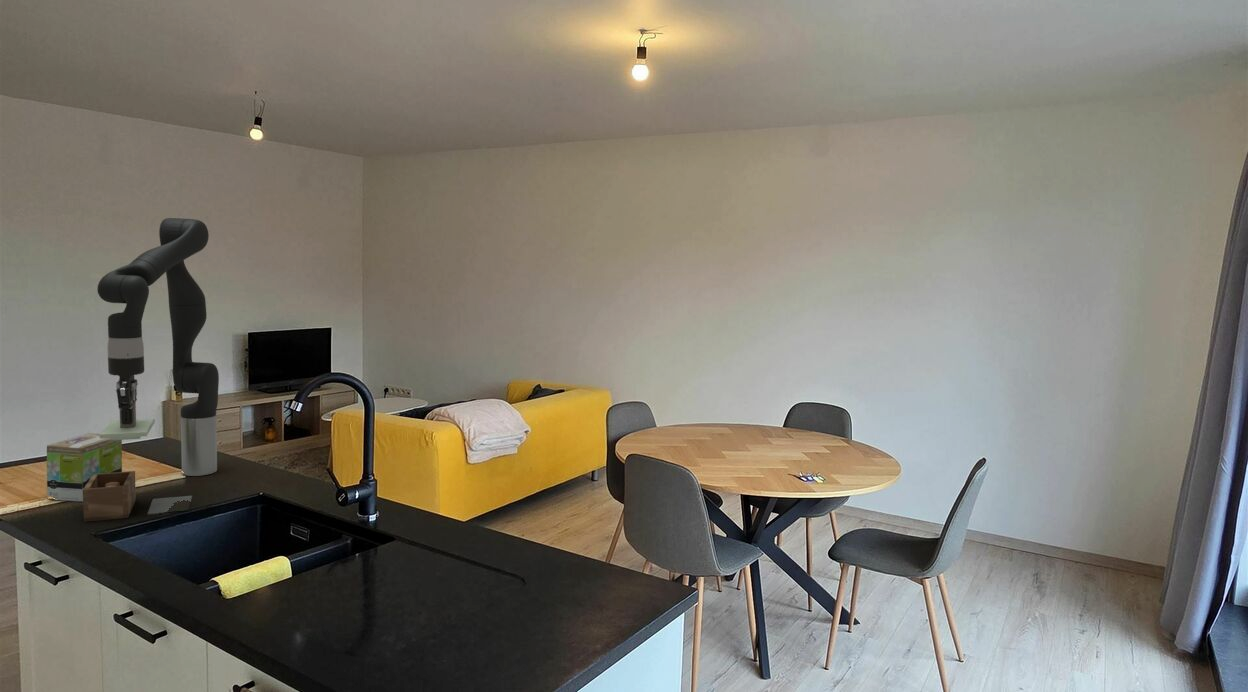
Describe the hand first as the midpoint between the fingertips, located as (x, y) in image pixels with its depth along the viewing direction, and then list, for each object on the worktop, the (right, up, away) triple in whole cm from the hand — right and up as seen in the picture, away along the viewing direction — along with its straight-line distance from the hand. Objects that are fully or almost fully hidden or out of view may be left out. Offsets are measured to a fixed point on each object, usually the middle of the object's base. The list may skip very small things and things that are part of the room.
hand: (128, 421), depth 189 cm
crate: (-5, -23, +1) cm, 23 cm away
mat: (+7, -22, +6) cm, 24 cm away
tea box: (-20, -21, +13) cm, 31 cm away
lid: (0, -3, 0) cm, 3 cm away
